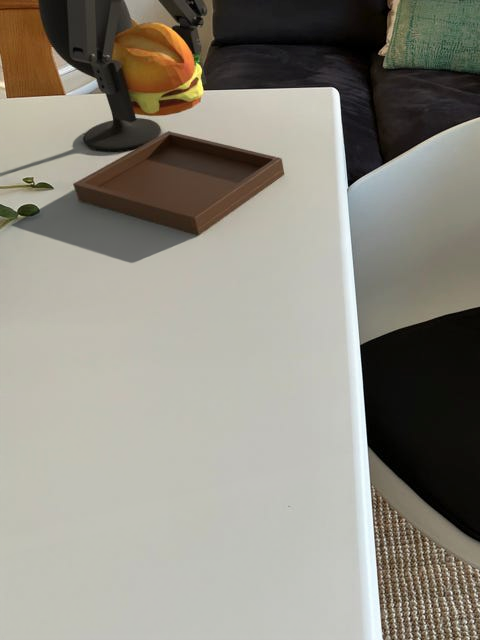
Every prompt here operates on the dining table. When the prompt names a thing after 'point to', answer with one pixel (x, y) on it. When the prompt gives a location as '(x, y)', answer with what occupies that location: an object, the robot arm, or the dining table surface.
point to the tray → (180, 181)
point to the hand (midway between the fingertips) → (162, 100)
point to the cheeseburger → (158, 69)
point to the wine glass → (111, 132)
